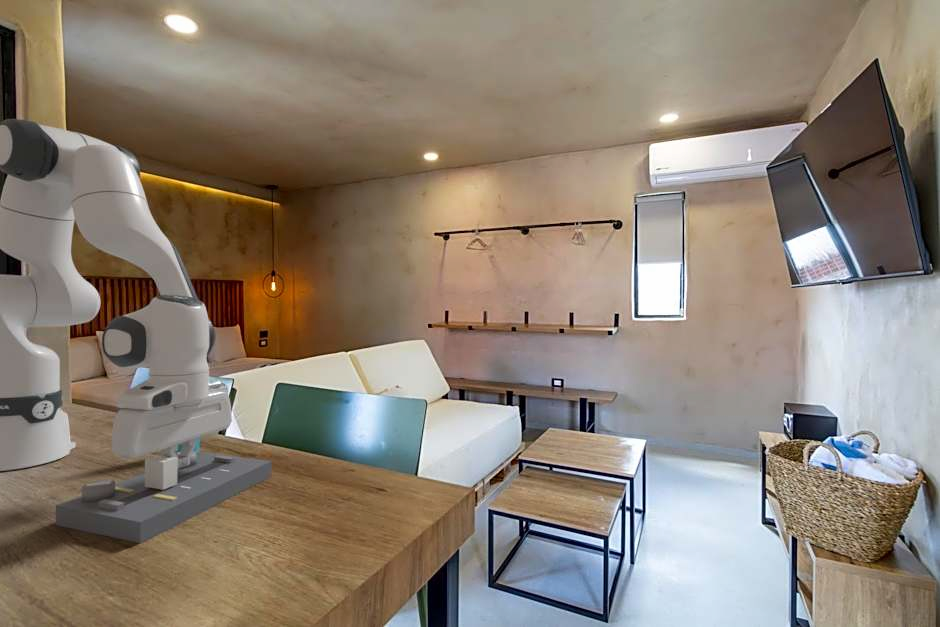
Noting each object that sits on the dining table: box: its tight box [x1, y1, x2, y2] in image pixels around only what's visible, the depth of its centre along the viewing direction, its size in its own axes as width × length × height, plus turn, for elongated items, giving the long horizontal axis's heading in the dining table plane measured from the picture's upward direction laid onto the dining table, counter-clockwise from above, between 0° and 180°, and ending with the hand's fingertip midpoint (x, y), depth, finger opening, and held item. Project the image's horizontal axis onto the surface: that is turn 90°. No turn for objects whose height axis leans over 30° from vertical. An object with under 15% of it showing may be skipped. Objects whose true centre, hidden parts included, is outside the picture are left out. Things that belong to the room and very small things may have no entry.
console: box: [55, 451, 273, 544], centre depth 77 cm, size 17×26×5 cm, turn 164°
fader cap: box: [144, 454, 177, 490], centre depth 74 cm, size 4×2×5 cm, turn 74°
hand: (178, 467), depth 77 cm, fingers closed
